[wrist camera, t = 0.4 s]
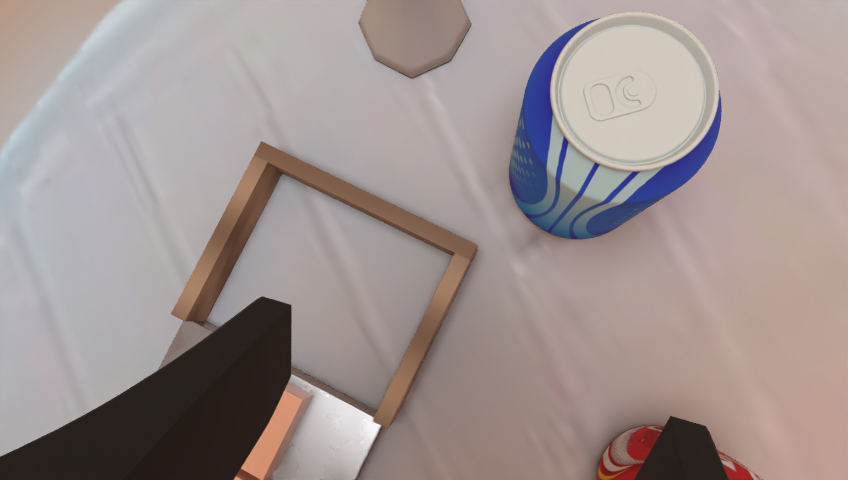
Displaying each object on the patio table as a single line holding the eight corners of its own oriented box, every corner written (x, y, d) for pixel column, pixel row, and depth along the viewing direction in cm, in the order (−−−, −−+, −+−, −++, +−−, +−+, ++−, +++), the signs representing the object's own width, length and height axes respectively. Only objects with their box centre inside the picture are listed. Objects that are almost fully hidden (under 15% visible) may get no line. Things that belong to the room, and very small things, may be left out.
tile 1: (275, 470, 38) (262, 480, 36) (205, 431, 39) (187, 438, 37) (313, 394, 39) (302, 399, 36) (242, 357, 39) (228, 360, 37)
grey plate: (300, 594, 39) (290, 608, 37) (111, 485, 41) (93, 493, 39) (387, 417, 40) (382, 422, 38) (198, 317, 42) (185, 317, 40)
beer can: (540, 94, 42) (579, -41, 26) (661, 144, 41) (777, 36, 25) (487, 208, 41) (493, 141, 26) (608, 263, 40) (693, 228, 24)
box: (394, 420, 40) (387, 428, 37) (192, 314, 42) (170, 314, 39) (477, 250, 41) (477, 245, 38) (276, 153, 43) (261, 141, 40)
